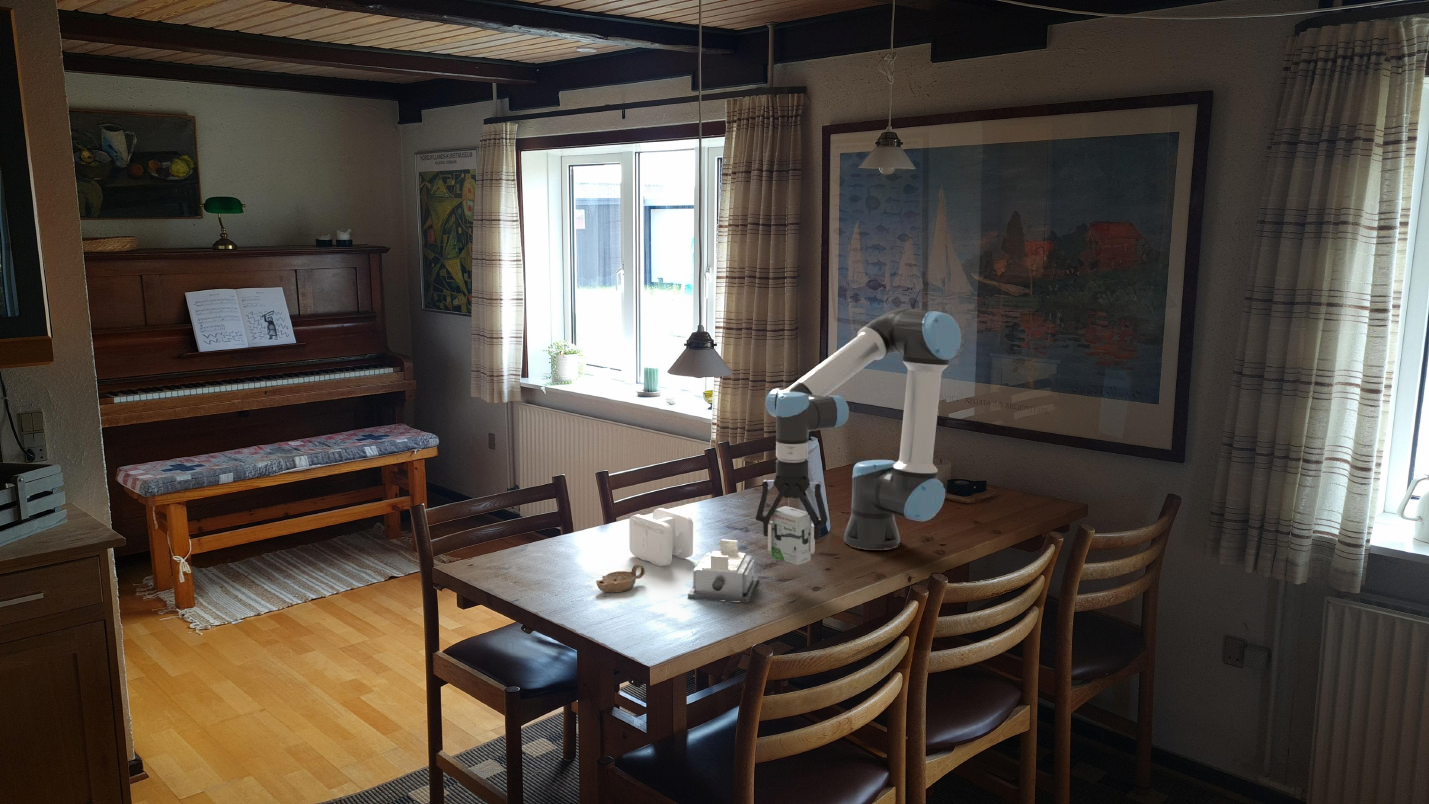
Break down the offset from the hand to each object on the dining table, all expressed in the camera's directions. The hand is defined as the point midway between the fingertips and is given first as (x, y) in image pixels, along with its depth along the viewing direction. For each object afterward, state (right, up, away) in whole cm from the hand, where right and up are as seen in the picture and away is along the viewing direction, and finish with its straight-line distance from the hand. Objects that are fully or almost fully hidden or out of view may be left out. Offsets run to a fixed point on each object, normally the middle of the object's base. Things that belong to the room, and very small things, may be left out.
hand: (791, 550), depth 234 cm
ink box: (0, -2, 0) cm, 2 cm away
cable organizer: (-32, -6, +21) cm, 39 cm away
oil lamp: (-41, -9, 0) cm, 42 cm away
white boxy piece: (-16, -9, 0) cm, 18 cm away
